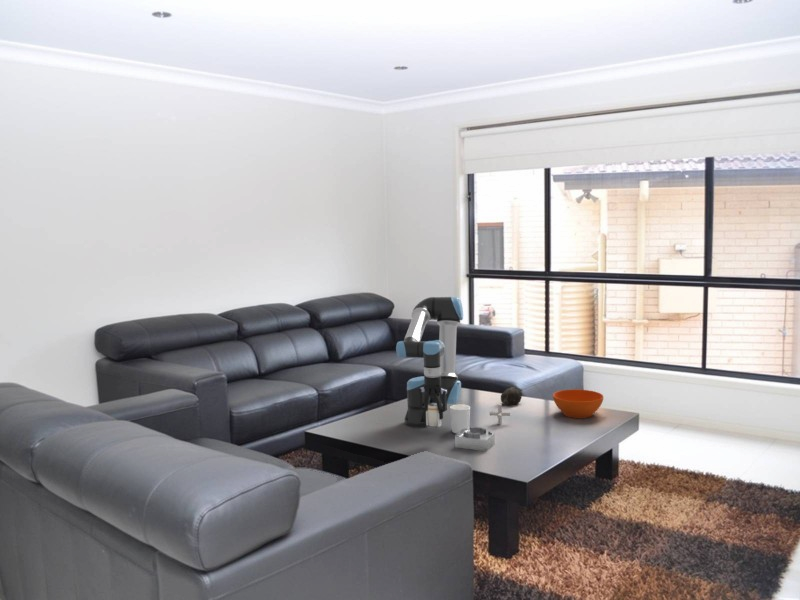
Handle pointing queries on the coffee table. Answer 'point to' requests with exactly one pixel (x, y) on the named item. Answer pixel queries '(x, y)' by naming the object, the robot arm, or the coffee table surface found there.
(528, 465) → the coffee table surface
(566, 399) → the bowl
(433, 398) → the robot arm
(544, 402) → the coffee table surface
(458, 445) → the cradle fixture plate
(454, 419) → the candle holder
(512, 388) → the rock
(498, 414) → the pipe connector
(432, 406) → the cream flashlight
